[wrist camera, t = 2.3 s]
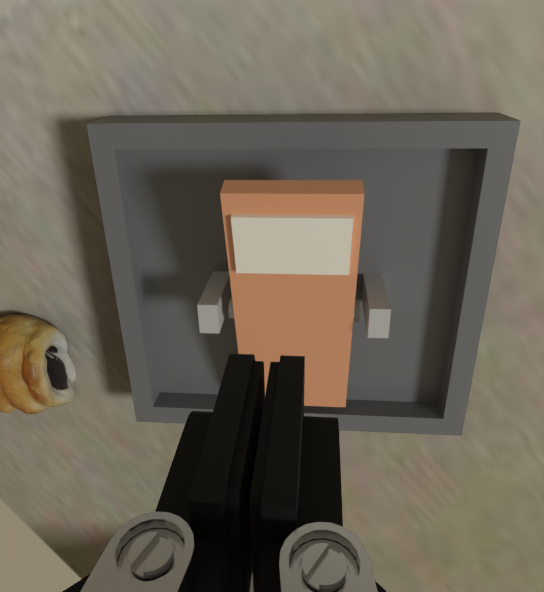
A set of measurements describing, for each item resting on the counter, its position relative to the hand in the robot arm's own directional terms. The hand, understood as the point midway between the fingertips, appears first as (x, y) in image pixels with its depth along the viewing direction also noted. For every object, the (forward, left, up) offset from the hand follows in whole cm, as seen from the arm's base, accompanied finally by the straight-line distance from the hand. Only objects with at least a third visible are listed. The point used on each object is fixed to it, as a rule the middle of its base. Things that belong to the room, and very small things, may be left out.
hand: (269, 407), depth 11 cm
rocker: (-5, 0, -14) cm, 15 cm away
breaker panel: (-5, 0, -18) cm, 19 cm away
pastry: (-11, +19, -19) cm, 29 cm away
